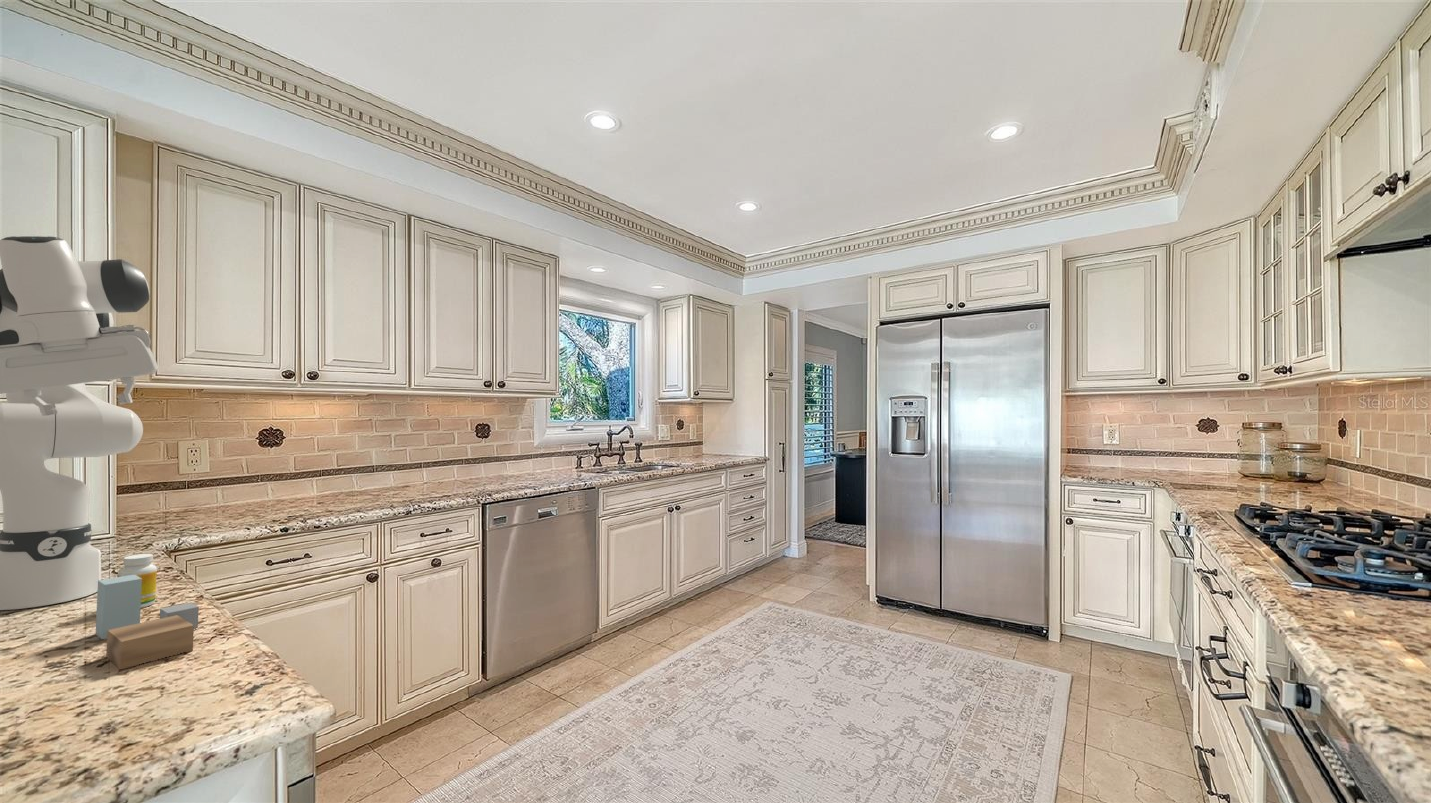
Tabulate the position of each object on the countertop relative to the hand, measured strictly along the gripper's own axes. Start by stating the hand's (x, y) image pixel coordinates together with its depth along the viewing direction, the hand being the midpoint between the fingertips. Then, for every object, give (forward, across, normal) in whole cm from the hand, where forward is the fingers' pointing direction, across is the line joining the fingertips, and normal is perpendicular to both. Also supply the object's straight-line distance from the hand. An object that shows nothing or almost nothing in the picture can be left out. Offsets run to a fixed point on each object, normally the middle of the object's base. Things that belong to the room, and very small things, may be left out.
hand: (89, 409), depth 99 cm
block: (+39, -5, +15) cm, 42 cm away
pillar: (+38, +3, +11) cm, 39 cm away
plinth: (+38, -4, +26) cm, 46 cm away
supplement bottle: (+39, +4, -6) cm, 40 cm away
